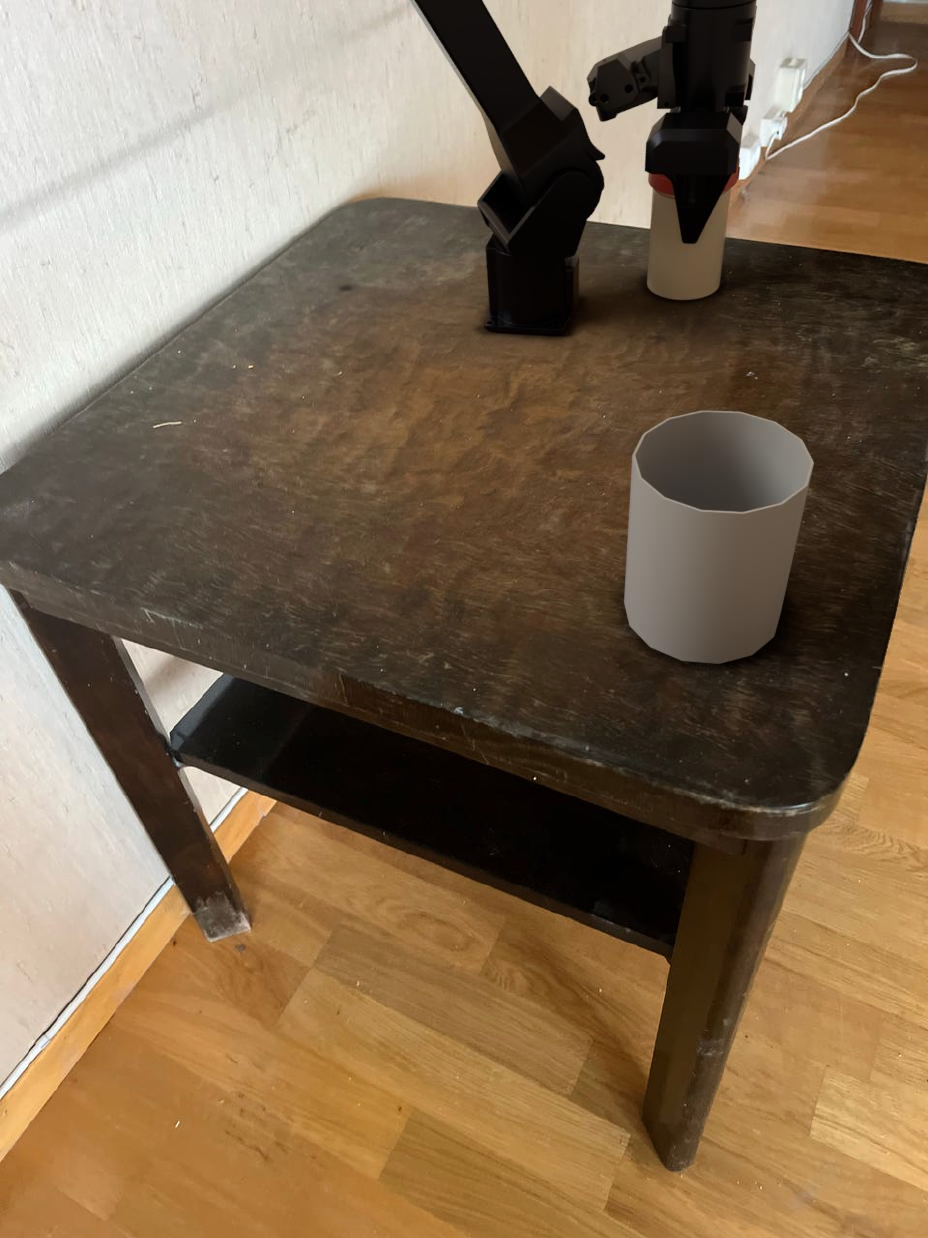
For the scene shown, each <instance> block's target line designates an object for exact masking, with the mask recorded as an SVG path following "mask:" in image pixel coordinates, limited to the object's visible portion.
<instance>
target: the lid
mask: <svg viewBox="0 0 928 1238" xmlns="http://www.w3.org/2000/svg"><path fill="white" fill-rule="evenodd" d="M740 162H741V158H740V157H739V160H738V165H737V170H736V173H733V174H732V175H731V177H730V179H729V181H728V183H727V185H726V187H725V189H724V190H723V192H724V191H727V190H729V189H730V188H731V189H732V188H733V187H734V186H736V184H737V183H738V181H739V180H740V171H741V166H740ZM647 177H648V178H647V181H648V185H649V186H650V187H651V188H652V190H653V189H655V190H657V191H659V192H661V193H665V194H668V195H673V196H674V191H673V186H672V183H671V181H670V180H669V179H668V178H667V177H666V176H665V175H663V174H650V173H648V176H647Z"/></svg>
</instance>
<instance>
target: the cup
mask: <svg viewBox="0 0 928 1238" xmlns="http://www.w3.org/2000/svg"><path fill="white" fill-rule="evenodd" d="M631 457H632V458H631V473H630V474H631V475H630V489H629V490H630V491H629V509H628V510H629V511H628V527H627V528H628V529H627V543H626V545H627V546H626V561H625V562H626V563H625V578H624V581H625V582H624V598H623V604H624V609H625V612H626V617H627V620H628V625H629V627H630V628H631V630H633V631H634V632H635V633H636V635H638V636H639V637H640V638H641V639H642V640H643V641H644V643H646V645H647V646H648V647H649V648H651V649H653V650H656V651H658V652H660V653H663V654H665V655H668V656H670V657H673V658H675V659H677V660H679V661H681V662H689V663H690V662H691V663H692V662H693V663H702V664H717V665H720V664H723V663H727V662H733V661H736V660H739V659H743V658H746V657H750V656H753V655H754V654H755V653H756V652H758V651H759V650H760V649H761V648H763V647H764V646H765V645H766V644H767V643H769V642H770V641H771V640H772V639H774V637H775V635H776V632H777V627H778V624H779V620H780V617H781V615H782V614H781V613H782V610H783V604H784V599H785V597H786V596H785V595H786V590H787V587H788V581H789V578H790V573H791V568H792V565H793V560H794V555H795V550H796V545H797V541H798V538H799V532H800V528H801V524H802V518H803V514H804V509H805V505H806V501H807V496H808V491H809V487H810V483H811V479H812V474H813V469H814V464H815V462H814V460H813V458H812V456H811V454H810V452H809V450H808V448H807V446H806V444H805V442H804V440H803V439H802V438H800V437H799V436H797V435H796V434H794V433H793V432H791V431H789V429H787V428H785V427H784V426H783V425H781V424H779V422H777V421H774V420H770V419H767V418H764V417H760V416H757V415H753V414H750V413H746V412H743V411H732V410H730V411H727V410H697V411H693V412H690V413H685V414H681V415H680V414H679V415H676V416H673V417H672V416H671V417H667V418H666V419H664V420H662V421H661V422H659V423H658V424H657V425H655V426H654V427H652V428H650V429H649V430H647V431H645V432H644V433H642V436H641V437H640V439H639V441H638V443H637V445H636V447H635V449H634V451H633V453H632V456H631Z"/></svg>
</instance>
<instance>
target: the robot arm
mask: <svg viewBox="0 0 928 1238" xmlns="http://www.w3.org/2000/svg"><path fill="white" fill-rule="evenodd" d="M409 2H410V3H411V5H412V7H413V8H414V10H415V11H416V12H417V15H418V16H419V17H420V19H421V21H422V22H423V24H424V26H425V27H426V29H427V30H428V32H429V33H430V35H431V36H432V39H433V40H434V41H435V43H436V45H437V46H438V47H439V49H440V51H441V52H442V54H443V56H444V57H445V59H446V60H447V62H448V64H449V65H450V67H451V69H452V70H453V72H454V73H455V74H456V76H457V78H458V80H459V81H460V83H461V84H462V86H463V87H464V89H465V90H466V92H467V93H468V95H469V97H470V98H471V100H472V102H473V103H474V105H475V107H476V108H477V109H478V111H479V113H480V115H481V117H482V119H483V121H484V122H483V123H484V126H485V129H486V132H487V136H488V139H489V142H490V145H491V146H490V147H491V149H492V151H493V154H494V156H495V159H496V161H497V164H498V167H499V168H500V171H499V172H498V173H497V174H496V176H495V177H494V178H493V179H492V181H491V182H490V183H489V185H488V186H487V187H486V189H485V190H484V192H483V193H482V194H481V195H480V196H479V198H478V200H477V201H476V206H477V208H478V210H479V213H480V215H481V217H482V219H483V222H484V224H485V225H486V227H487V228H489V229H490V230H491V232H492V234H491V236H490V237H489V239H488V241H487V243H486V245H485V260H486V261H485V262H486V263H485V264H486V279H487V292H488V293H487V295H488V308H489V311H488V314H487V316H486V318H485V320H484V322H483V328H484V330H485V331H490V332H506V333H521V334H522V333H524V334H527V333H528V334H539V335H541V334H542V335H557V336H558V335H563V334H564V332H565V331H566V327H567V325H568V322H569V320H570V318H572V317H574V315H575V313H576V310H577V309H578V304H579V303H580V255H579V254H578V253H577V251H578V249H579V246H580V242H581V239H582V237H583V233H584V231H585V227H586V225H587V222H588V219H589V218H590V217H591V216H592V215H593V214H594V213H595V211H596V209H597V207H598V205H599V203H600V201H601V197H602V194H603V191H604V189H605V177H604V174H603V171H602V168H601V166H600V164H599V161H603V160H605V159H606V154H605V153H604V152H602V150H600V149H599V148H598V147H597V146H596V145H595V144H594V143H593V142H592V140H591V138H590V136H589V133H588V129H587V127H586V124H585V121H584V118H583V116H582V114H581V112H580V109H579V108H578V107H577V106H575V105H574V104H573V103H572V102H570V100H568V98H566V97H565V96H564V95H563V94H561V93H560V92H559V91H558V90H556V88H554V87H553V86H552V85H549V86H548V87H547V88H546V89H545V90H544V91H543V92H542V93H541V95H540V96H539V94H538V93H537V92H536V91H535V89H534V88H533V86H532V83H531V82H530V80H529V78H528V77H527V75H526V73H525V72H524V70H523V68H522V66H521V65H520V63H519V61H518V60H517V58H516V57H515V54H514V53H513V51H512V49H511V47H510V45H509V44H508V42H507V40H506V39H505V37H504V35H503V34H502V32H501V30H500V28H499V27H498V24H497V23H496V21H495V19H494V18H493V16H492V14H491V13H490V11H489V9H488V7H487V6H486V3H484V0H409ZM757 9H758V5H757V0H671V8H670V13H669V15H668V17H667V24H666V25H664V26H663V28H662V30H661V35H659V36H656V37H655V38H651V39H647V40H644V41H642V42H640V43H637V44H635V45H633V46H630V47H628V48H626V49H624V50H621V51H618V52H616V53H613V54H612V55H609V56H606V57H605V58H602V59H600V60H599V61H597V62H595V63H594V64H593V66H592V67H591V69H590V71H589V73H588V75H587V76H586V83H587V85H588V88H589V95H588V99H587V101H588V104H589V105H590V106H591V107H592V108H593V107H595V110H596V113H597V116H598V119H599V122H602V123H604V122H608V121H611V120H614V119H616V118H617V116H618V115H619V114H621V113H624V112H626V111H629V110H632V109H634V108H637V107H639V106H642V105H645V104H647V103H649V102H651V101H653V100H656V110H669V111H667V112H665V113H664V114H663V115H662V116H661V117H660V118H659V119H658V120H657V121H656V122H655V123H654V124H653V125H652V127H651V129H650V132H649V134H648V137H647V139H646V142H645V157H644V172H645V173H648V174H649V173H650V174H663V175H665V176H666V177H667V178H668V179H669V180H670V181H671V183H672V186H673V191H674V196H675V202H676V208H677V214H678V220H679V227H680V233H681V239H682V242H683V243H684V244H695V243H697V241H698V239H699V237H700V235H701V233H702V231H703V229H704V227H705V225H706V223H707V221H708V219H709V217H710V215H711V213H712V211H713V209H714V207H715V206H716V204H717V202H718V200H719V198H720V196H721V194H722V192H723V190H724V189H725V187H726V185H727V183H728V181H729V179H730V177H731V175H732V174H733V173H736V170H737V165H738V160H739V158H740V153H741V145H742V137H743V129H744V124H745V123H746V121H747V116H748V111H749V105H747V104H745V101H751V100H752V94H753V90H754V81H755V72H756V65H757V64H756V63H755V61H753V59H752V58H751V52H752V43H753V34H754V28H755V25H756V19H757ZM597 161H598V162H597Z"/></svg>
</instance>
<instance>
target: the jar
mask: <svg viewBox="0 0 928 1238" xmlns="http://www.w3.org/2000/svg"><path fill="white" fill-rule="evenodd" d="M731 193H732V188H730V189H729V190H727V191H724V192H722V194H721V196H720V198H719V200H718V202H717V204H716V206H715V207H714V209H713V211H712V213H711V215H710V217H709V219H708V221H707V223H706V225H705V227H704V229H703V231H702V233H701V235H700V237H699V239H698V241H697V243H695V244H684V243H683V242H682V239H681V233H680V227H679V220H678V214H677V208H676V202H675V196H673V195H668V194H665V193H661V192H659V191H657V190H655V189H653V188H652V193H651V197H652V198H651V209H650V226H649V241H648V243H649V244H648V256H647V257H648V259H647V273H646V274H647V275H646V277H647V278H646V286H647V288H648V290H649V291H650V292H651V293H653V294H655V295H657V296H659V297H662V298H665V299H669V300H674V301H675V300H676V301H689V300H690V301H691V300H698V299H703V298H705V297H708V296H711V295H713V294H714V293H715V292H717V290H718V289H719V288H720V286H721V277H722V269H723V262H724V255H725V254H724V253H725V245H726V237H727V227H728V219H729V211H730V201H731V195H732V194H731Z"/></svg>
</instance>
